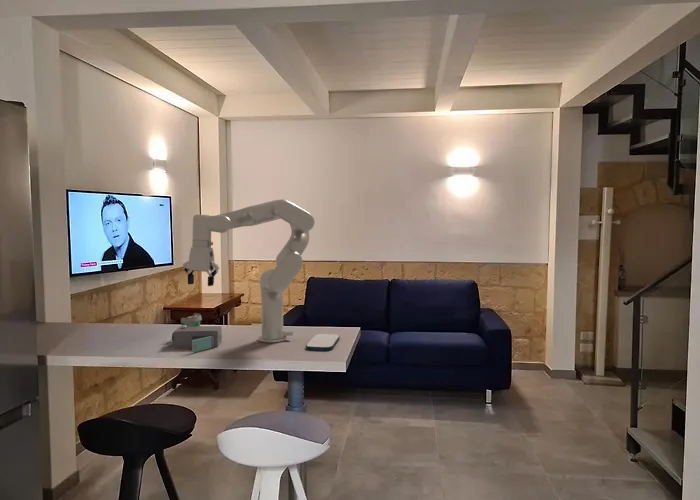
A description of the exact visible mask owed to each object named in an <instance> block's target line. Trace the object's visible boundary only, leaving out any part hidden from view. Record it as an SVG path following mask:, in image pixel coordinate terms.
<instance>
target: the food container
mask: <svg viewBox="0 0 700 500" xmlns="http://www.w3.org/2000/svg"><path fill="white" fill-rule="evenodd" d="M202 320H203V318H202V315H201V314H200V313H197V312H194V313H193V315H189V316H187V317H181V318H180V323H181V326H182V325H186V326H187V327H196V326H201V321H202Z"/></svg>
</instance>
